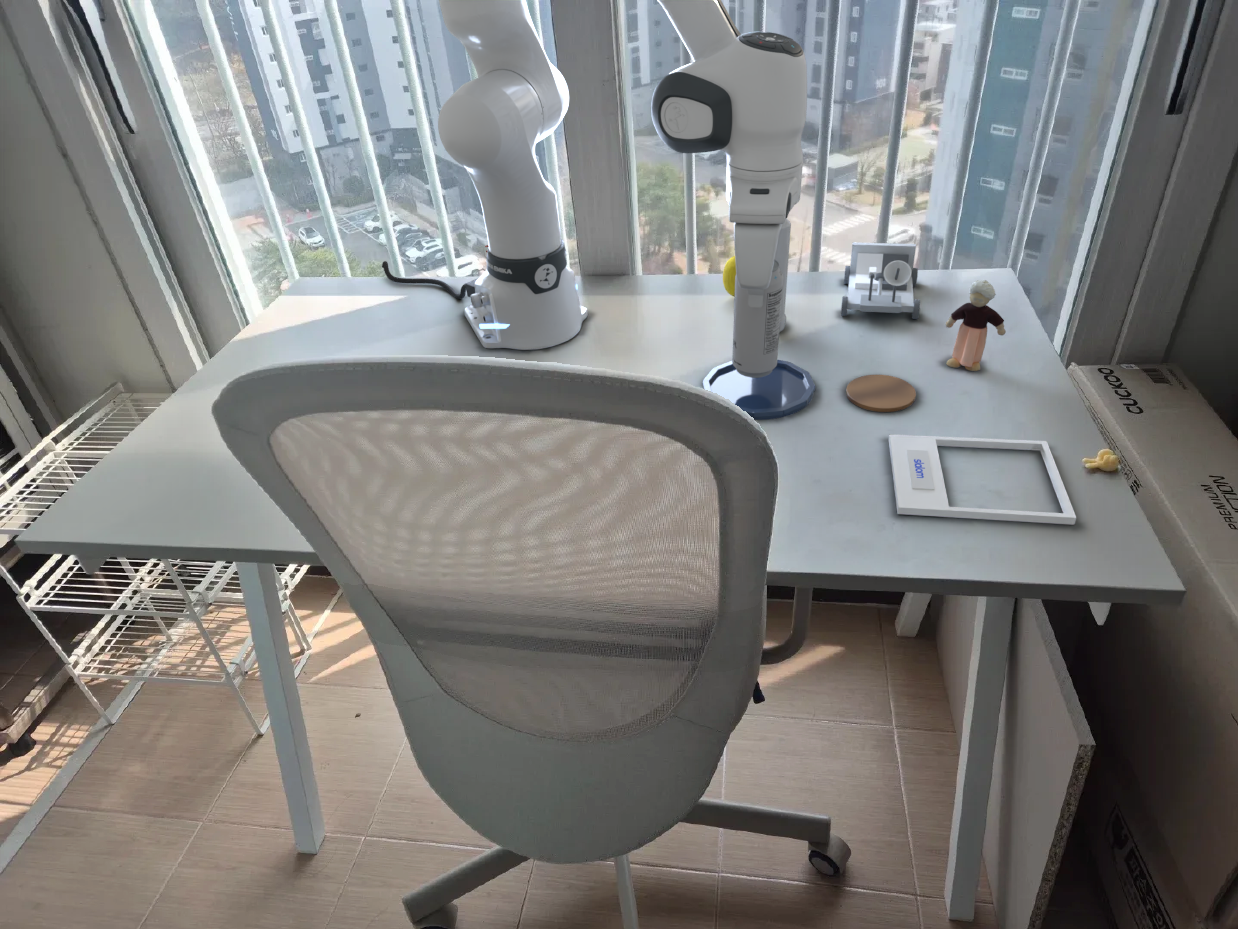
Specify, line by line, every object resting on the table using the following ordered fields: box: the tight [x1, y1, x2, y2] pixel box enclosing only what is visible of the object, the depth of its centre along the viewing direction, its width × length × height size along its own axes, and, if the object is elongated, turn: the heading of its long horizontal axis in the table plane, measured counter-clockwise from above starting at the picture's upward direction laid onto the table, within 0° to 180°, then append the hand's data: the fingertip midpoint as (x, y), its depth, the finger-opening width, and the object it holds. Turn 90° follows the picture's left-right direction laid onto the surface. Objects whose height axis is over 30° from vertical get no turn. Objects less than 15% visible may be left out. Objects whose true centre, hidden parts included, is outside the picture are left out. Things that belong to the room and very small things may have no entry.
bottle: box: [774, 217, 792, 333], centre depth 126 cm, size 5×5×25 cm
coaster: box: [845, 374, 917, 413], centre depth 115 cm, size 9×9×1 cm
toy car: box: [840, 241, 921, 320], centre depth 135 cm, size 18×10×12 cm
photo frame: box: [888, 434, 1077, 526], centre depth 98 cm, size 15×1×18 cm
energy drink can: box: [731, 260, 783, 378], centre depth 112 cm, size 6×6×15 cm
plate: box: [701, 359, 816, 421], centre depth 117 cm, size 15×15×1 cm
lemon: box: [722, 255, 736, 298], centre depth 140 cm, size 6×6×8 cm
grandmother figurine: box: [944, 279, 1007, 372], centre depth 116 cm, size 8×4×13 cm, turn 70°
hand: (758, 293), depth 110 cm, fingers closed on energy drink can, 6 cm apart
